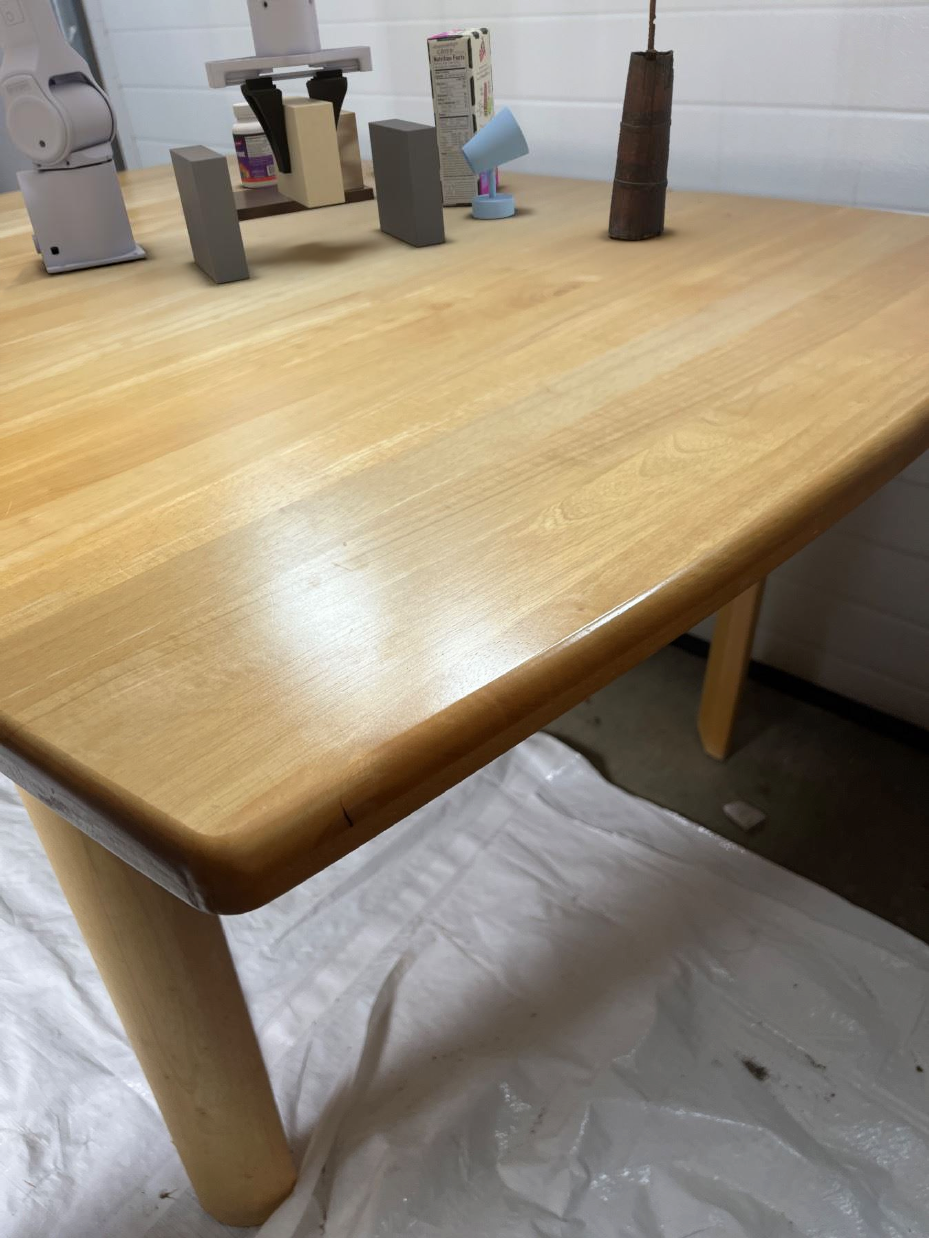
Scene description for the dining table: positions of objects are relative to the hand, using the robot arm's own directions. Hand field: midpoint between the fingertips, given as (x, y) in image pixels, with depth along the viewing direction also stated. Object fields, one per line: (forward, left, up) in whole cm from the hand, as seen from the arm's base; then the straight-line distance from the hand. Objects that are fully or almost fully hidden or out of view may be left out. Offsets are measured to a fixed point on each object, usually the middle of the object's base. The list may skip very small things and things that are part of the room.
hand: (306, 169), depth 86 cm
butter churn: (+26, -16, -8) cm, 32 cm away
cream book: (0, 0, -2) cm, 2 cm away
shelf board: (+4, +28, -7) cm, 29 cm away
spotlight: (+21, +3, -8) cm, 23 cm away
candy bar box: (+23, +14, -8) cm, 28 cm away
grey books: (0, 0, -7) cm, 7 cm away
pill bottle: (+6, +44, -8) cm, 45 cm away
